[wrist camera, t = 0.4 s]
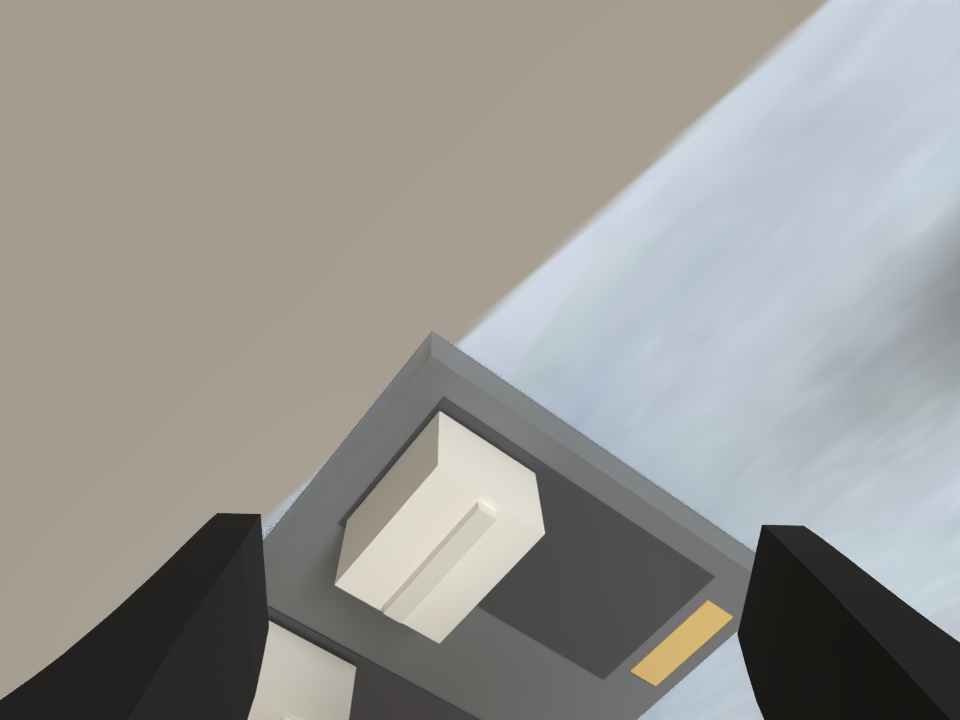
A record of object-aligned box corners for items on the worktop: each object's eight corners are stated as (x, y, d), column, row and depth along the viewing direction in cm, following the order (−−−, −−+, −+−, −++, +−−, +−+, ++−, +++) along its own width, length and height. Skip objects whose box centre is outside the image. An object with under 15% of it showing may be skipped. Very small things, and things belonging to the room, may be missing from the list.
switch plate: (343, 939, 31) (338, 985, 30) (44, 813, 28) (22, 858, 27) (762, 558, 24) (781, 593, 23) (432, 330, 21) (430, 356, 20)
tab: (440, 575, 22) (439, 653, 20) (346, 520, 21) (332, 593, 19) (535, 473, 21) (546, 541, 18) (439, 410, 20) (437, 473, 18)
